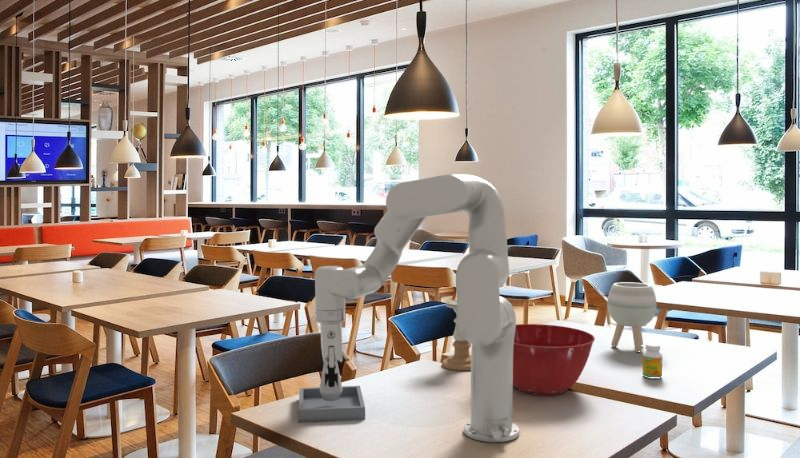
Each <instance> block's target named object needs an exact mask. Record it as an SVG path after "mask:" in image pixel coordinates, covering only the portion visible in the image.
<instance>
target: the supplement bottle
mask: <svg viewBox="0 0 800 458" xmlns="http://www.w3.org/2000/svg"><path fill="white" fill-rule="evenodd" d="M660 350H661V345H660V344H659V343H655V342H653V343H652V342H651V343H650V342H649V343H645V351H643V353H642V376H643V375H644V376H647V377H661V376H662V377H663V353H662V352H661V351H660Z"/></svg>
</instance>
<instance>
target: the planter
mask: <svg viewBox="0 0 800 458" xmlns="http://www.w3.org/2000/svg"><path fill="white" fill-rule="evenodd" d="M606 304H607V306H606V307H607V311H608V314H609V316H610V318H611V319H612V320H613V321H614V322H615V323H616V327H615V330H614V333H613V337H612V340H611V344H610V346H611V345H612V346H617V347H618V345H619V342H620V339H621V337H622V335H623V332H624V329H625V327H631V330H632V337H633V345H634V351H635V352H636V351H643V346H644V340H643V339H644V338H643V332H642V327H646V326H647V325H648V324H649V323H651V321H652V320H653V319H654V317H655V316H656V313H657V307H658V305H657V297H656V293H655V291H654V288H653V286H652V285H651V284H649V283H643V282H633V281H632V282H631V281H629V282H627V281H626V282H625V281H621V282H614V283H613V284H612V285H611V287H610V290H609V292H608V296H607V303H606ZM641 345H643V346H641ZM612 346H611V347H612Z"/></svg>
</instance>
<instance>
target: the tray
mask: <svg viewBox="0 0 800 458" xmlns="http://www.w3.org/2000/svg"><path fill="white" fill-rule="evenodd" d="M319 389H320V386H318V387H299V395H298V396H299V398H298V423H313V422H314V423H316V422H335V421H336V422H338V421H339V422H340V421H357V420H358V421H359V420H361V421H362V420H366V406H365V401H364V397H363V393H362V389H361V385H346V386H345V385H344V386H343V385H342V389H343V390H342V393H341V395H340V397H339V399H338V400H335V401H325V400H324V399H323V398H322V395H321V393H320V390H319Z"/></svg>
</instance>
